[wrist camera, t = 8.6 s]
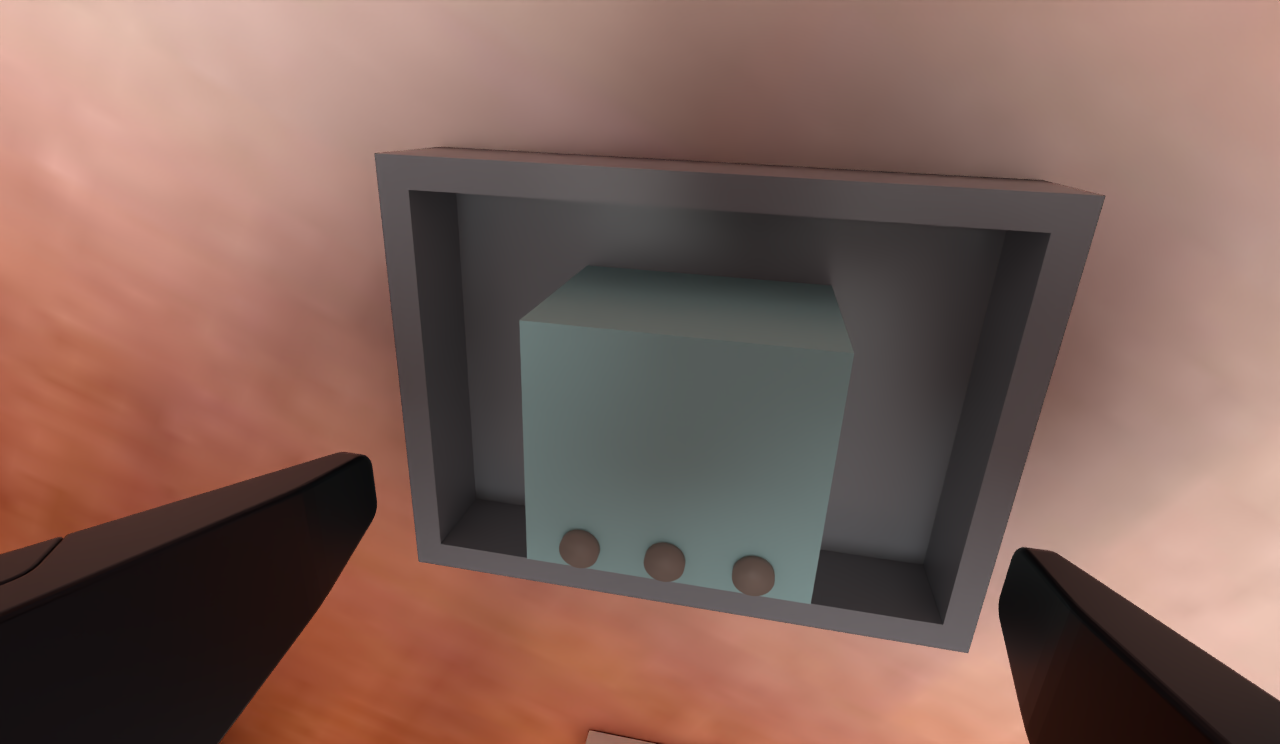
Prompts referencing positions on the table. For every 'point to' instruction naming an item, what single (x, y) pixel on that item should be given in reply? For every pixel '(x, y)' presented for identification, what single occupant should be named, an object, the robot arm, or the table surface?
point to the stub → (683, 427)
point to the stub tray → (766, 250)
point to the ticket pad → (610, 739)
